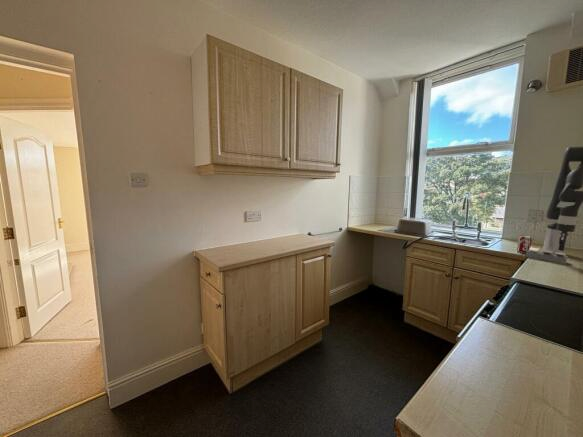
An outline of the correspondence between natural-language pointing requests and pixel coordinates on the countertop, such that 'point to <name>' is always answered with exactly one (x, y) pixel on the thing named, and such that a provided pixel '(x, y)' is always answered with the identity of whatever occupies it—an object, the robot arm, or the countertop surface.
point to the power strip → (547, 257)
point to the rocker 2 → (560, 253)
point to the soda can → (524, 244)
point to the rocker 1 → (534, 249)
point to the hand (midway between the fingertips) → (560, 250)
